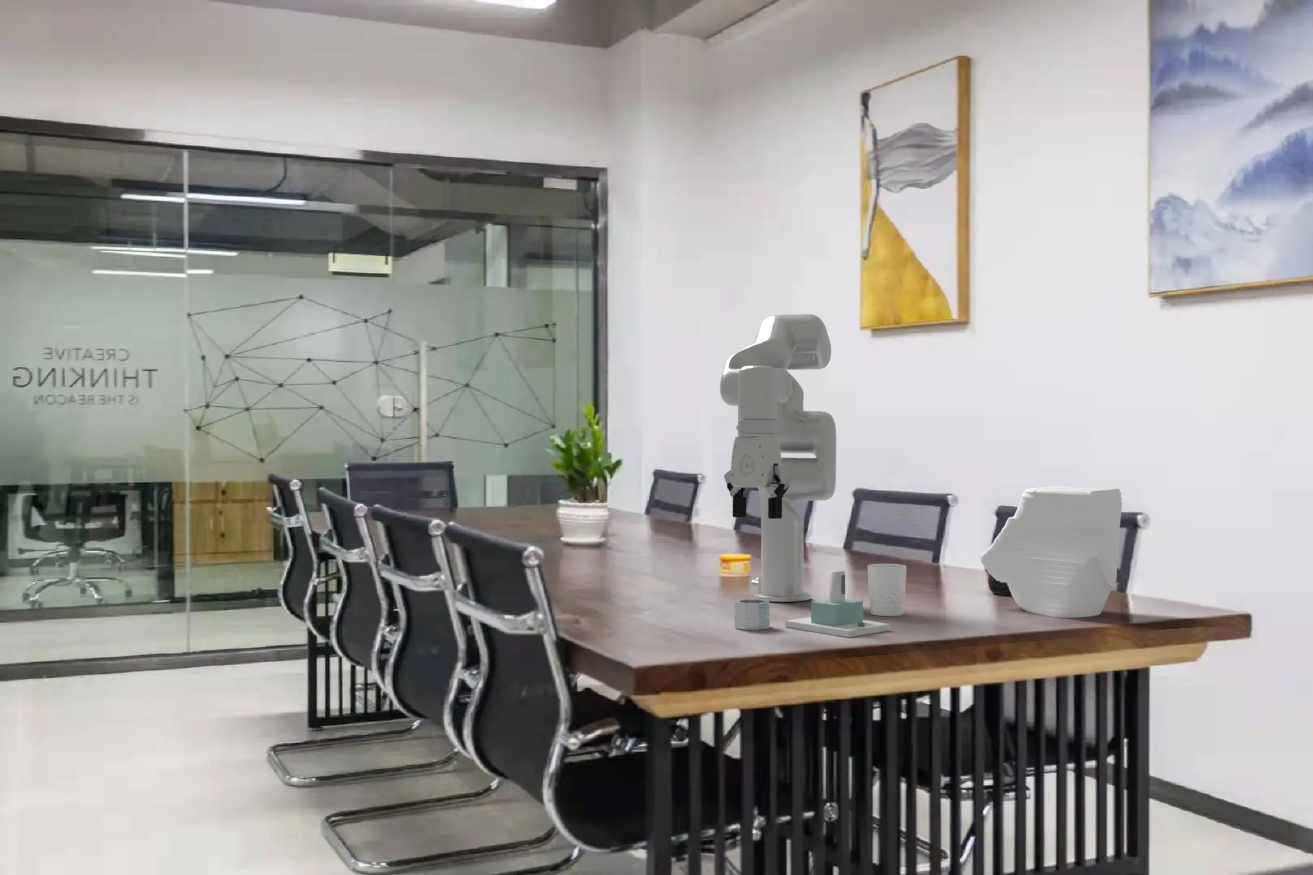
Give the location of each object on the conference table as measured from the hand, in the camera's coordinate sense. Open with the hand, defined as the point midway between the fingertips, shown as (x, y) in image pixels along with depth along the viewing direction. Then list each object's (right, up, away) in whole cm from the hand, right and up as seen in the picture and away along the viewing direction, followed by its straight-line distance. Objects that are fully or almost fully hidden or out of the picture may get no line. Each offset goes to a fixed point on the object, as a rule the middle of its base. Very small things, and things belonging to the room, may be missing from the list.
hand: (757, 517), depth 247 cm
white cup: (+28, -21, +16) cm, 39 cm away
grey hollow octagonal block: (-1, -21, -1) cm, 21 cm away
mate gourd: (+61, -21, +46) cm, 79 cm away
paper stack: (+66, -21, +21) cm, 72 cm away
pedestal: (+15, -21, -3) cm, 26 cm away
